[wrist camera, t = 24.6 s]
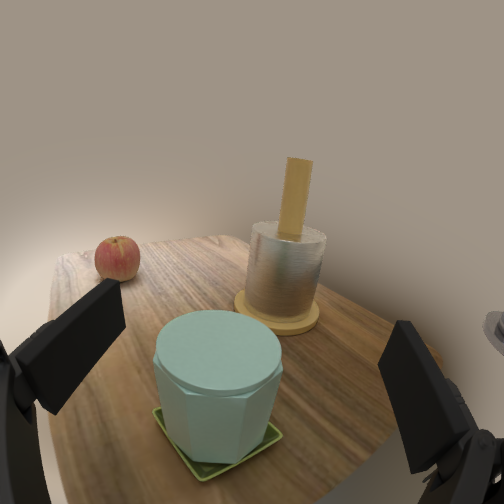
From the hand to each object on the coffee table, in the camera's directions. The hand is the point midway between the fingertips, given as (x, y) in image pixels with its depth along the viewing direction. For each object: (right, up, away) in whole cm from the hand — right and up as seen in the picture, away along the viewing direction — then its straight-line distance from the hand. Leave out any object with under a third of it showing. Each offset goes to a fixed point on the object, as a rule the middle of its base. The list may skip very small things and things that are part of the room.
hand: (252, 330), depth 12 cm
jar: (-3, -12, +8) cm, 15 cm away
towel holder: (+4, -6, +32) cm, 33 cm away
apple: (-25, -2, +35) cm, 43 cm away
